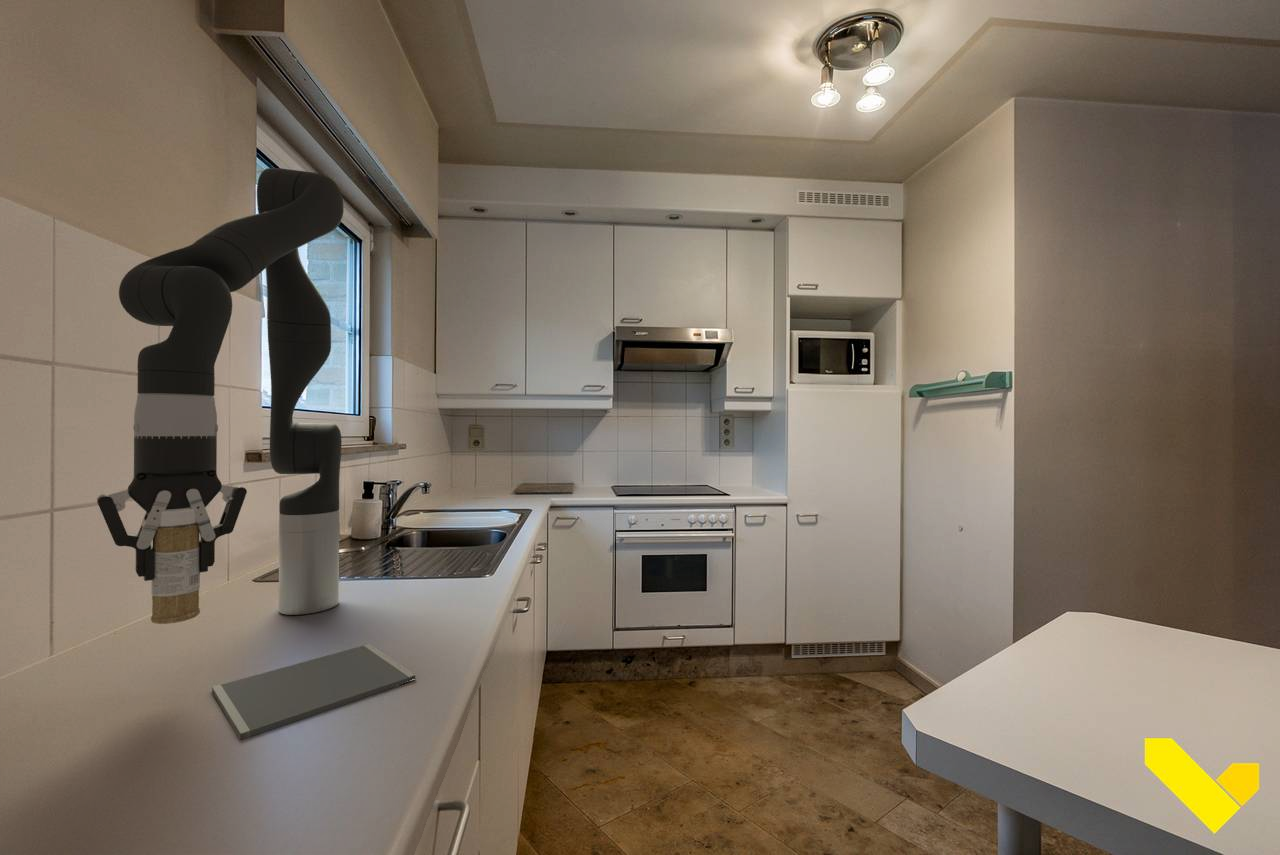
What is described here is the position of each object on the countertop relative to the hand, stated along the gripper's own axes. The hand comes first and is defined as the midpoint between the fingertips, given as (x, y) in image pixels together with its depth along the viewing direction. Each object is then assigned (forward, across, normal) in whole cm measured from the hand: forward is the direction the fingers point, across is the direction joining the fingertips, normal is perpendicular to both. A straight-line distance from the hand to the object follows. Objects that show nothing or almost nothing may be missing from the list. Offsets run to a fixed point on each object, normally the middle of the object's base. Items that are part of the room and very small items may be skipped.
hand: (176, 574), depth 64 cm
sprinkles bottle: (+6, 0, 0) cm, 6 cm away
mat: (+14, -12, +11) cm, 21 cm away
